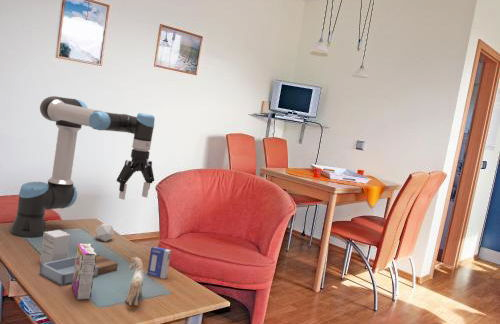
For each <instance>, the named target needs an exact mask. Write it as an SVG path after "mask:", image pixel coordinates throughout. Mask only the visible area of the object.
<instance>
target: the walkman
mask: <svg viewBox="0 0 500 324" xmlns="http://www.w3.org/2000/svg"><path fill="white" fill-rule="evenodd" d="M149 253H150V254H149V259H148V265H147V273H146V275H148V276H151V277H155V278H159V279H164V280H165V279H167V277H168V274H169V273H168V271H169V267H170V260H171V255H172V249H168V248H164V247H159V246H156V245H153V246H151V249H150V252H149Z"/></svg>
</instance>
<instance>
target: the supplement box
mask: <svg viewBox="0 0 500 324" xmlns="http://www.w3.org/2000/svg"><path fill="white" fill-rule="evenodd" d="M70 241H71V234H70V233H68V232H65V231H63V230H61V229H55V230H48V231H46V232H44V235H43V236H42V243H41V251H40V258H39V259H40V260H39V262H40V264H42V263H47V262H52V261H57V260H61V259H66V258H69V257H68V255H69V249H70V248H69V247H70Z"/></svg>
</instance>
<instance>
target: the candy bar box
mask: <svg viewBox="0 0 500 324" xmlns="http://www.w3.org/2000/svg"><path fill="white" fill-rule="evenodd" d="M97 255H98V254H97V252H96V250H95V249H94V246H93V245H92V243H81V242H80V243H77V247H76V253H75V257H76V260H75V267H74V275H73V282H72V283H71V288H72V290H73V293H74V296H75V298H76V300H80V301H81V300H91V298H92V290H93V283H94V278H95V277H94V270H95V262H96V256H97Z"/></svg>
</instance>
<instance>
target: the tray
mask: <svg viewBox="0 0 500 324" xmlns="http://www.w3.org/2000/svg"><path fill="white" fill-rule="evenodd" d="M75 260H76V256H73V257H67V258H66V259H61V260H57V261H52V262H47V263H40V267H39V275H40V276H42V277H44V278H46V279H48V280H49V281H52V282H54V283H55V284H57V285H59V286H65V285H70V284H72V282H73V275H74V267H75ZM98 267H99V266H95V270H94V277H93V278H97V277H98V276H97V274H98Z"/></svg>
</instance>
